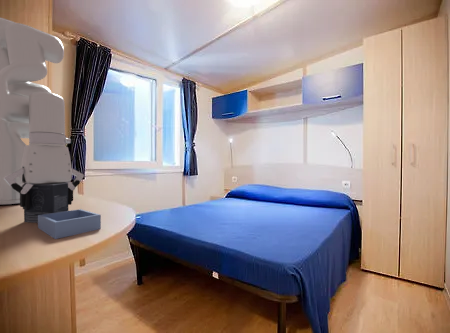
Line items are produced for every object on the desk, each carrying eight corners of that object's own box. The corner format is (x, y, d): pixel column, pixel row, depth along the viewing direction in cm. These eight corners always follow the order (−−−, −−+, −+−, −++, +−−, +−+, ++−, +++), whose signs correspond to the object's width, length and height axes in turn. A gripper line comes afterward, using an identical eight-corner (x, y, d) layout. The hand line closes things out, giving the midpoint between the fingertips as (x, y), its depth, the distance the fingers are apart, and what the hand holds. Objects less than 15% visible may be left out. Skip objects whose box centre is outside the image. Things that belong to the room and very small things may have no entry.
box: (69, 220, 64) (68, 182, 64) (52, 226, 58) (52, 184, 58) (41, 220, 64) (41, 182, 64) (23, 225, 59) (22, 184, 58)
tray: (38, 229, 55) (37, 215, 55) (80, 222, 62) (80, 209, 62) (55, 239, 48) (55, 222, 48) (100, 229, 56) (100, 214, 56)
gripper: (78, 144, 70) (78, 201, 70) (-1, 139, 56) (-1, 210, 56) (89, 142, 66) (89, 203, 66) (6, 136, 52) (7, 214, 52)
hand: (48, 206), depth 61 cm, fingers closed on box, 8 cm apart
